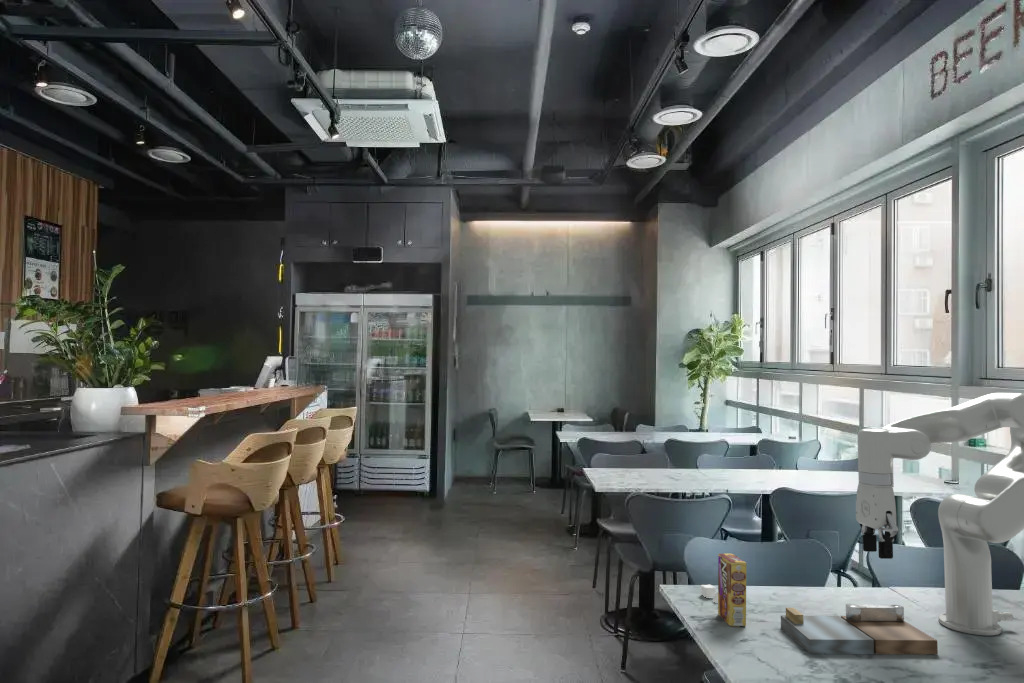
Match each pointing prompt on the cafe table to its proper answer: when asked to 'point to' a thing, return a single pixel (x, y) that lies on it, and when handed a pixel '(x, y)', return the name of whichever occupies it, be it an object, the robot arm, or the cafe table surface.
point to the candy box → (732, 589)
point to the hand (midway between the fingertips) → (877, 554)
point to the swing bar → (874, 612)
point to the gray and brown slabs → (855, 635)
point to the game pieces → (709, 592)
